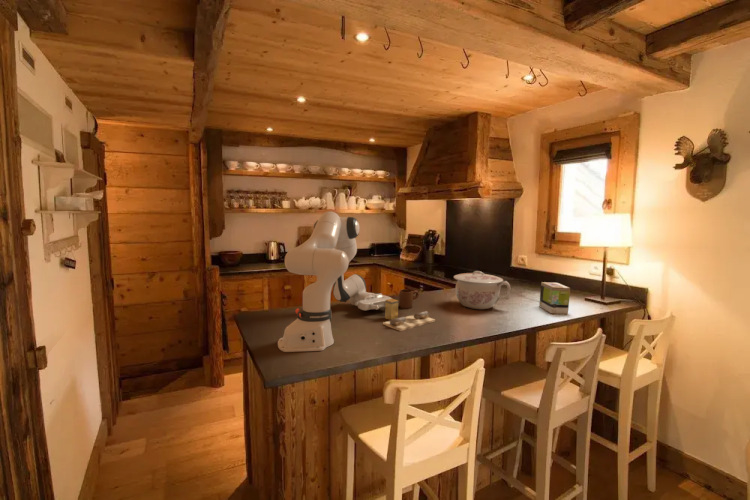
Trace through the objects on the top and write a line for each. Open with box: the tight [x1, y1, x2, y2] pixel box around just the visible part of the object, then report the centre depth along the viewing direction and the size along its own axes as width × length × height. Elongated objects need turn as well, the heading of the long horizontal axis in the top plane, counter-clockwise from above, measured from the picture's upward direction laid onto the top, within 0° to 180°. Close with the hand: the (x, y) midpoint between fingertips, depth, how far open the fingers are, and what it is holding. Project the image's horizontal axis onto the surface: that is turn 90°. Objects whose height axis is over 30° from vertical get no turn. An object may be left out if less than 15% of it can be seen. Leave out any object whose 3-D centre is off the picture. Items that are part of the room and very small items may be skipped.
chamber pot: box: [453, 270, 512, 311], centre depth 212 cm, size 28×28×21 cm
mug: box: [398, 288, 420, 310], centre depth 209 cm, size 12×8×9 cm, turn 114°
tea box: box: [538, 281, 571, 315], centre depth 208 cm, size 15×10×15 cm
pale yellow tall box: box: [384, 298, 399, 321], centre depth 187 cm, size 4×4×10 cm
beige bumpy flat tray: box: [382, 310, 436, 332], centre depth 181 cm, size 24×12×4 cm, turn 130°
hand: (385, 306), depth 190 cm, fingers open, 8 cm apart
